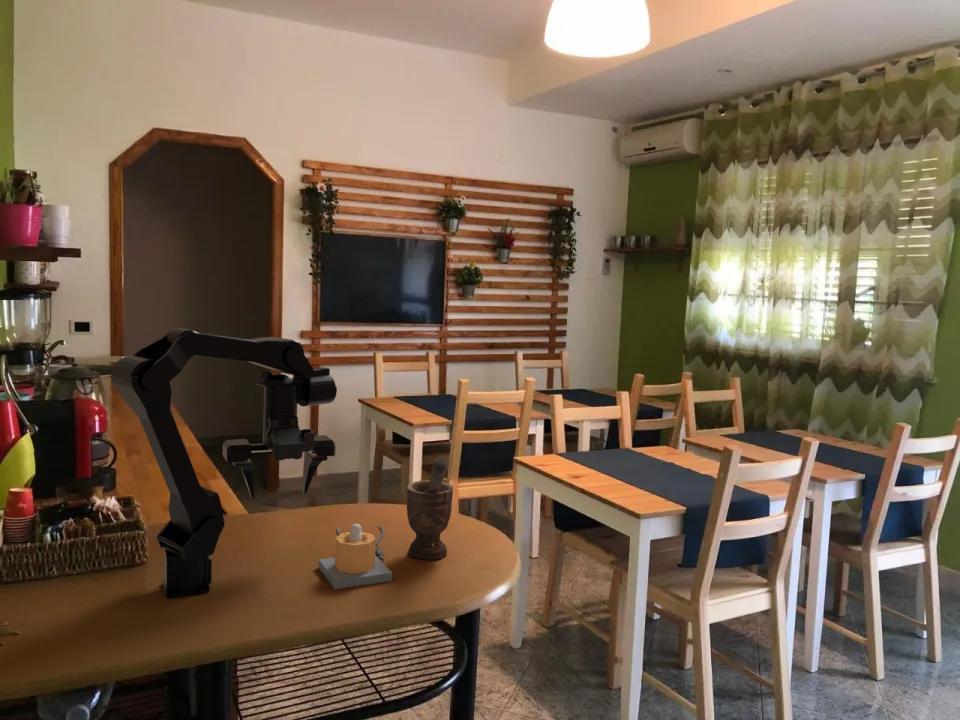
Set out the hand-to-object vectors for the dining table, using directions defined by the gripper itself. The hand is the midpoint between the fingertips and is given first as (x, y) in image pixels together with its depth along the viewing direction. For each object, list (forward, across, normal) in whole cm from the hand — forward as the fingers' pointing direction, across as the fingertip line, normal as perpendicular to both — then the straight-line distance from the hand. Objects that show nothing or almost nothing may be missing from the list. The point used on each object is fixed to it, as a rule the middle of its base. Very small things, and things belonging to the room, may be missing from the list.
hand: (278, 495), depth 134 cm
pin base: (+12, +11, -11) cm, 20 cm away
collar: (+10, +11, -11) cm, 19 cm away
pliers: (+13, +19, +3) cm, 23 cm away
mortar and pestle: (+12, +27, -8) cm, 31 cm away
